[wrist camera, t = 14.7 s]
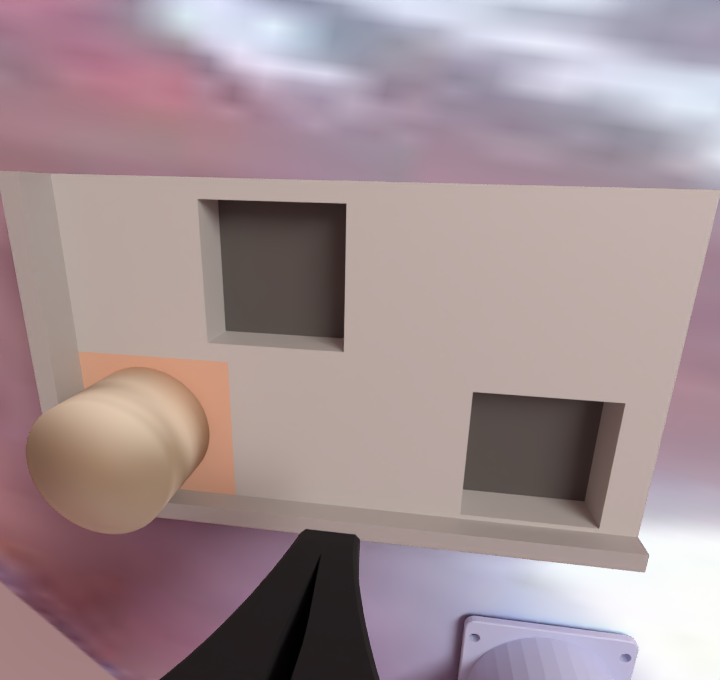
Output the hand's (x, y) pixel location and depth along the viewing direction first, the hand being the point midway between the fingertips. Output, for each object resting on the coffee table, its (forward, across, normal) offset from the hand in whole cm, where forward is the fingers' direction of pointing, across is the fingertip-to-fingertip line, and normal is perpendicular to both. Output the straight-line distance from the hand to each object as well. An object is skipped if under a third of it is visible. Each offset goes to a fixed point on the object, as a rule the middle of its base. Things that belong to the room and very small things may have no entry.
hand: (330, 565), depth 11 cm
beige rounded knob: (+8, +9, +1) cm, 12 cm away
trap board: (+10, +1, -2) cm, 10 cm away
